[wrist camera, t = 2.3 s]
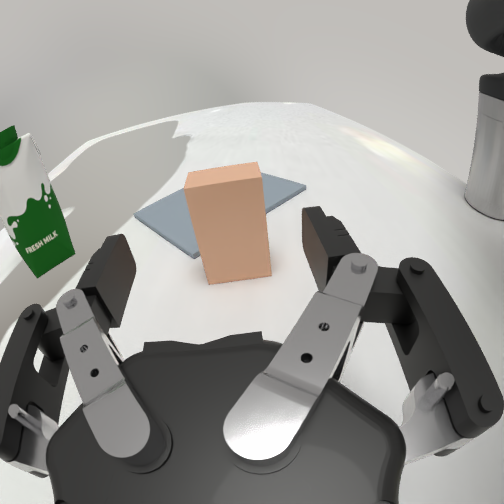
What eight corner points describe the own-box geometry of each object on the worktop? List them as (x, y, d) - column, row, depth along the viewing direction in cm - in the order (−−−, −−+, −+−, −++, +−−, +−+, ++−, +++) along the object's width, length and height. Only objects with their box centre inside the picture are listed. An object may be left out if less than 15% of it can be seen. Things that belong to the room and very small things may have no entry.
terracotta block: (271, 275, 27) (261, 177, 21) (208, 284, 27) (183, 189, 21) (266, 253, 30) (257, 161, 24) (209, 261, 30) (188, 172, 24)
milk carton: (33, 285, 30) (-30, 151, 18) (28, 258, 36) (-20, 146, 24) (82, 253, 35) (30, 115, 22) (70, 232, 40) (29, 118, 28)
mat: (233, 168, 51) (232, 165, 50) (306, 189, 41) (306, 185, 41) (134, 217, 40) (133, 213, 40) (194, 258, 31) (192, 254, 30)
